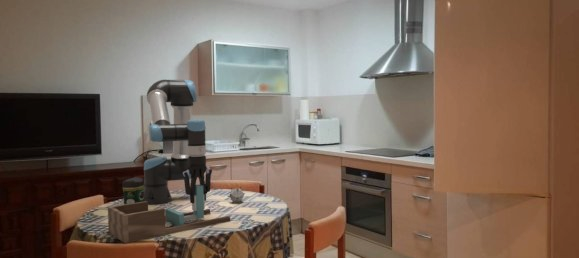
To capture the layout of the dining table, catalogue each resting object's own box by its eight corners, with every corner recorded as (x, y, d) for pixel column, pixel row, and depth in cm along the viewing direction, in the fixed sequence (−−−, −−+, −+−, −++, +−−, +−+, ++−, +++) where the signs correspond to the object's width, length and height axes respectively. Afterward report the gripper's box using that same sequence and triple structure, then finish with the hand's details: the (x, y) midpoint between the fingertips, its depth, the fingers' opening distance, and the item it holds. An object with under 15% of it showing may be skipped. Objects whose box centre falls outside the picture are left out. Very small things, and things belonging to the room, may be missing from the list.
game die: (239, 210, 213) (241, 197, 207) (224, 204, 215) (226, 191, 209) (246, 199, 220) (248, 186, 214) (232, 193, 222) (234, 180, 216)
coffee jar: (130, 216, 188) (129, 176, 188) (147, 216, 188) (146, 176, 187) (120, 222, 179) (119, 179, 178) (138, 222, 178) (137, 179, 177)
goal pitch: (108, 231, 164) (107, 206, 164) (208, 213, 193) (208, 191, 192) (124, 243, 150) (123, 215, 149) (230, 221, 178) (229, 198, 178)
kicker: (165, 221, 177) (164, 186, 176) (194, 216, 185) (193, 183, 185) (179, 228, 166) (178, 191, 165) (209, 222, 174) (208, 187, 174)
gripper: (183, 157, 170) (185, 214, 171) (217, 154, 180) (219, 208, 181) (175, 156, 175) (177, 211, 176) (209, 153, 186) (210, 205, 187)
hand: (198, 209), depth 179 cm, fingers closed on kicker, 3 cm apart
